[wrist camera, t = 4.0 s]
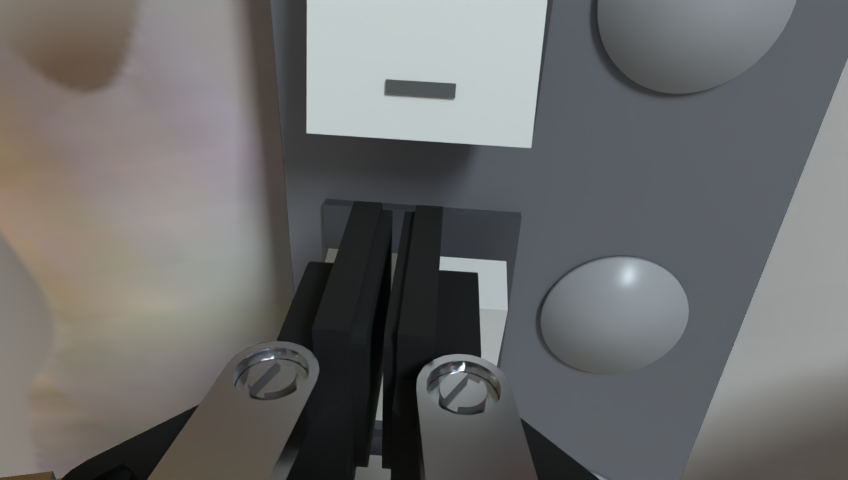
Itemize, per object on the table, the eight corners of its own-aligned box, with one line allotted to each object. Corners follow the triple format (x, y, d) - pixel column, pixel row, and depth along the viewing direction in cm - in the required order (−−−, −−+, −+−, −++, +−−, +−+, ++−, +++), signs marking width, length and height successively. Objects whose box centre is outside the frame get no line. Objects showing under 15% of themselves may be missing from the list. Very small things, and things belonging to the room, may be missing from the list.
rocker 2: (484, 383, 17) (484, 432, 16) (343, 371, 17) (334, 419, 16) (506, 261, 13) (507, 313, 12) (328, 248, 14) (315, 299, 13)
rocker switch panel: (591, 580, 28) (609, 679, 25) (337, 557, 29) (319, 651, 25) (853, -220, 13) (998, -259, 9) (297, -245, 13) (235, -291, 10)
